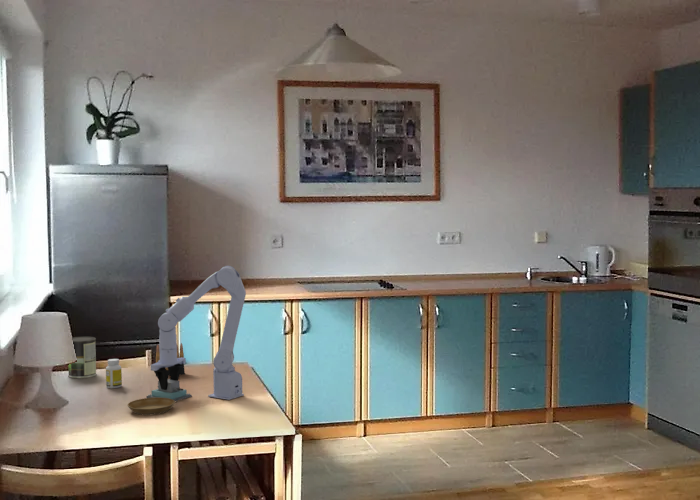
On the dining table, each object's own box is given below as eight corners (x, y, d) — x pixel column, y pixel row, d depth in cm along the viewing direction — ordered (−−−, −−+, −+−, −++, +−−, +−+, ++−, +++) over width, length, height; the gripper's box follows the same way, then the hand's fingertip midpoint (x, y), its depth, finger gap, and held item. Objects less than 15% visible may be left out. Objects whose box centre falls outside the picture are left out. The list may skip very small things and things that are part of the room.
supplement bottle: (124, 385, 308) (123, 358, 307) (118, 388, 303) (117, 361, 302) (109, 385, 309) (108, 358, 308) (103, 388, 303) (103, 361, 302)
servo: (187, 395, 288) (186, 380, 288) (178, 397, 285) (178, 382, 284) (164, 391, 294) (163, 376, 293) (155, 393, 290) (155, 378, 290)
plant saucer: (127, 418, 264) (127, 410, 263) (127, 407, 278) (127, 399, 278) (176, 415, 268) (176, 406, 267) (173, 403, 282) (173, 395, 282)
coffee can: (70, 379, 318) (69, 341, 317) (66, 374, 327) (65, 337, 326) (98, 376, 322) (97, 339, 321) (94, 371, 332) (93, 335, 331)
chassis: (191, 396, 290) (191, 389, 290) (172, 402, 283) (172, 395, 282) (166, 392, 297) (165, 385, 297) (146, 397, 289) (146, 390, 289)
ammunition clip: (156, 376, 323) (155, 345, 322) (155, 375, 324) (155, 344, 324) (184, 374, 326) (184, 343, 325) (184, 373, 327) (183, 342, 327)
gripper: (174, 343, 297) (175, 382, 298) (143, 350, 285) (144, 390, 286) (189, 345, 293) (190, 384, 294) (159, 352, 281) (159, 393, 282)
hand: (169, 388), depth 289 cm, fingers closed on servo, 4 cm apart
